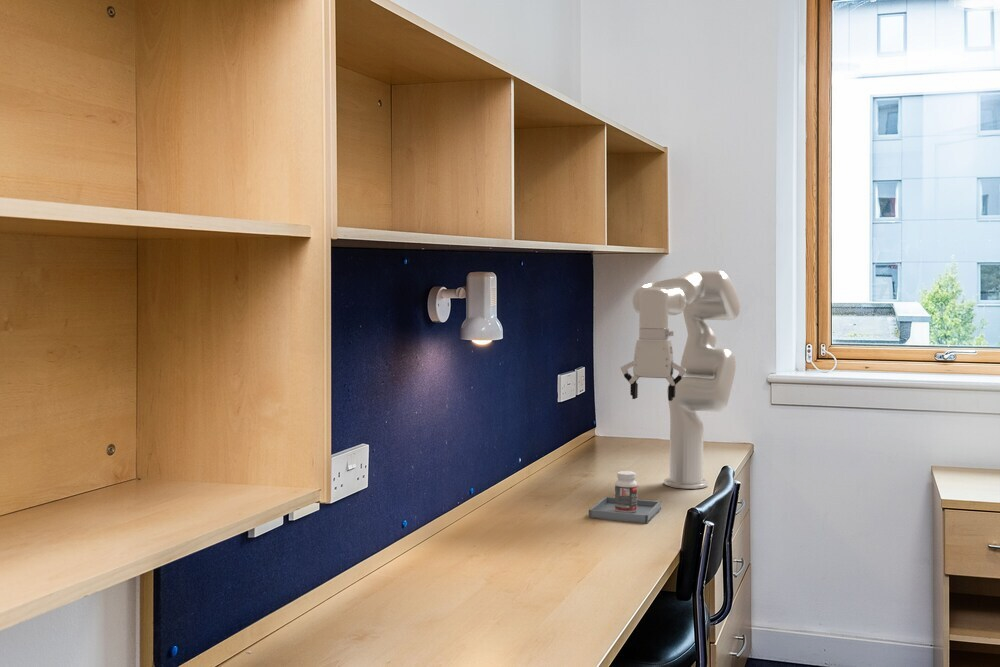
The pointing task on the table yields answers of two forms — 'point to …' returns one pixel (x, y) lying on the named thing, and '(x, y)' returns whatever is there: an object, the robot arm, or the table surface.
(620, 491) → the pill bottle
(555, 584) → the table surface
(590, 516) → the slate tray
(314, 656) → the table surface
